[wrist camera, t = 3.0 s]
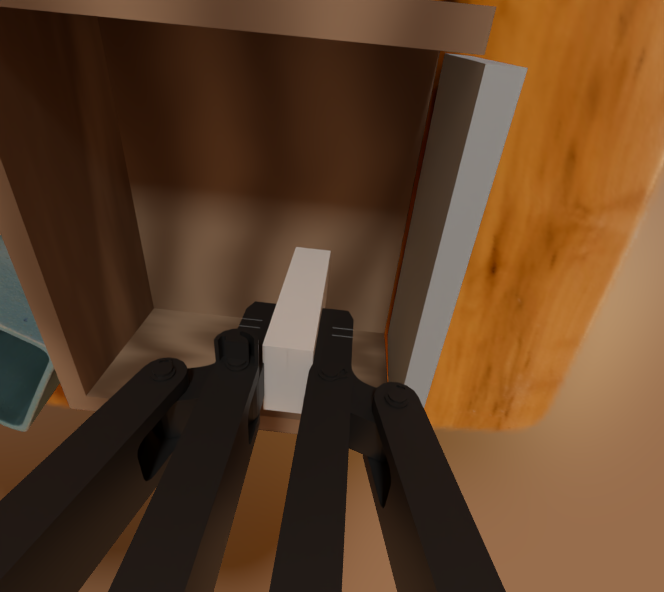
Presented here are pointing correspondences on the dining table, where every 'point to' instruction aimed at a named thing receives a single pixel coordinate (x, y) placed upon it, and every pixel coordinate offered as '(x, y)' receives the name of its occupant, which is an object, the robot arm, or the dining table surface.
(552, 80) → the dining table surface
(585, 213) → the dining table surface
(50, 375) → the flower pot
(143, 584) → the robot arm
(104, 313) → the crate
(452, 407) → the dining table surface
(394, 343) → the panel
